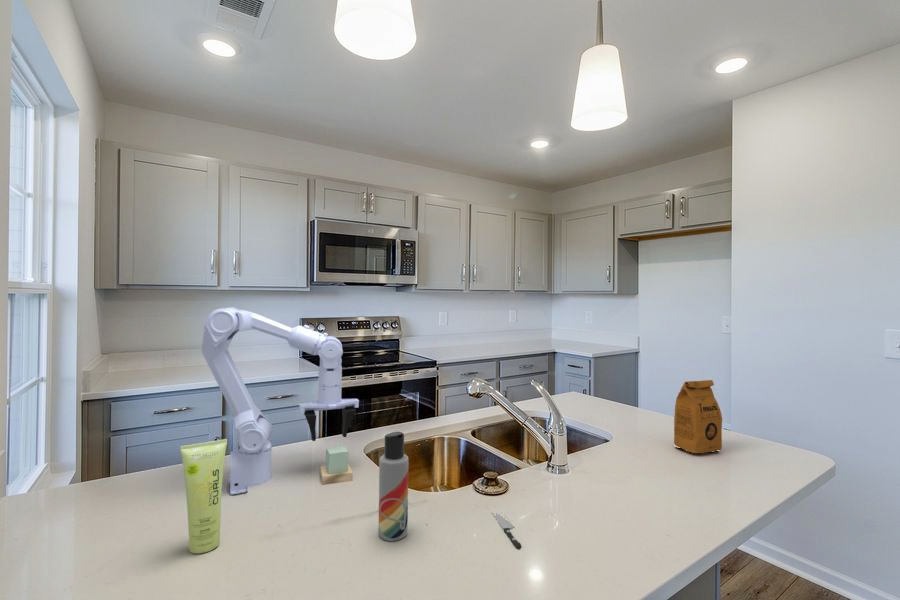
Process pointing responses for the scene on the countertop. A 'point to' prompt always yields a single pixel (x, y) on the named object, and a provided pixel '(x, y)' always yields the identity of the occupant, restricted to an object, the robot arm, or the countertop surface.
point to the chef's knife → (507, 529)
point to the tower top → (335, 476)
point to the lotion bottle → (393, 489)
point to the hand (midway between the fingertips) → (329, 437)
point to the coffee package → (697, 418)
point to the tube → (204, 492)
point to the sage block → (336, 459)
